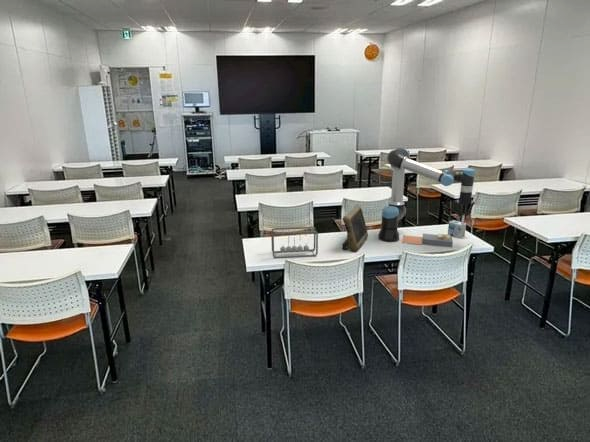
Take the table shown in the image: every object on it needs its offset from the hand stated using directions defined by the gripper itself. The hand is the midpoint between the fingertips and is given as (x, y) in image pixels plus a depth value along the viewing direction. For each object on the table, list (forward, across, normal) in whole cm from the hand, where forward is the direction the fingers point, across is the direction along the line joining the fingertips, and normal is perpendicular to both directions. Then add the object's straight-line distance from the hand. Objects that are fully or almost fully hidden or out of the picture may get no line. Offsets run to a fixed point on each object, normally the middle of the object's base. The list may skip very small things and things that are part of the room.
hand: (462, 224), depth 278 cm
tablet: (+15, -71, -18) cm, 75 cm away
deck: (+15, -15, 0) cm, 22 cm away
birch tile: (+11, -11, 0) cm, 16 cm away
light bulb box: (+16, -1, +19) cm, 25 cm away
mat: (+15, -32, 0) cm, 36 cm away
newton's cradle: (+15, -107, -50) cm, 119 cm away
